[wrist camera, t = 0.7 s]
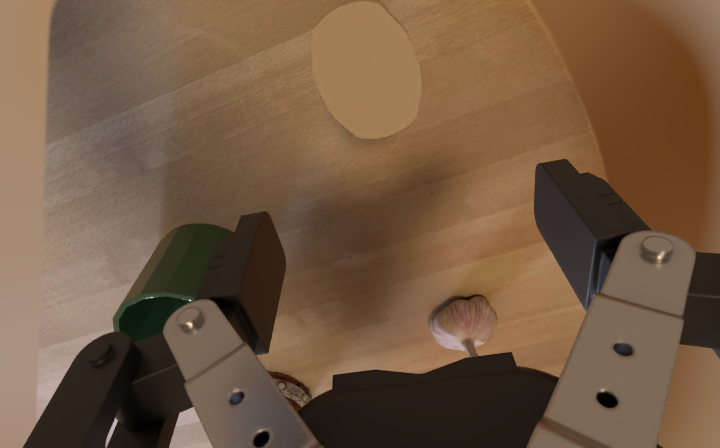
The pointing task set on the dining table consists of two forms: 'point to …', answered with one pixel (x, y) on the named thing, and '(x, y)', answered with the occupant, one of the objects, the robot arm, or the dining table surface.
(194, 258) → the cup
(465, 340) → the garlic bulb
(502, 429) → the robot arm
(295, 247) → the dining table surface
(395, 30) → the handle
